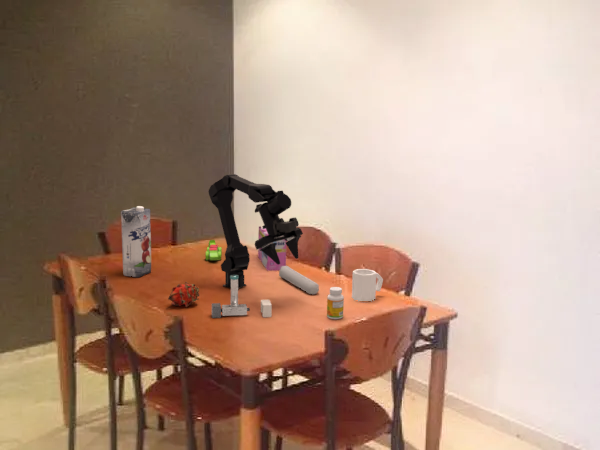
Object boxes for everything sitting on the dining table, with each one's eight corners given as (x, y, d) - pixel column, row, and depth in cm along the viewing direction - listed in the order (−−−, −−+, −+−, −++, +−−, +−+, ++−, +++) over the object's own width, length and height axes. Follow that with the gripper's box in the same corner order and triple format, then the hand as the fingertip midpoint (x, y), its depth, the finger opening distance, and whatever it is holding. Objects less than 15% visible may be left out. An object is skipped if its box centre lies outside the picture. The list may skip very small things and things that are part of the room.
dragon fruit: (202, 306, 258) (171, 317, 251) (190, 288, 262) (160, 299, 255) (207, 292, 252) (175, 303, 245) (195, 273, 256) (164, 283, 249)
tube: (323, 284, 269) (292, 267, 291) (311, 281, 266) (281, 264, 288) (319, 298, 269) (288, 279, 291) (306, 295, 267) (277, 277, 288)
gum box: (256, 256, 322) (257, 225, 319) (274, 255, 324) (275, 225, 321) (267, 271, 299) (267, 238, 297) (286, 270, 301) (287, 237, 298)
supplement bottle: (325, 314, 248) (326, 286, 246) (341, 314, 248) (342, 286, 246) (327, 319, 243) (328, 291, 241) (344, 319, 243) (345, 290, 241)
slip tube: (222, 315, 243) (222, 277, 240) (221, 313, 245) (221, 275, 243) (246, 314, 244) (247, 276, 241) (246, 312, 247) (246, 274, 244)
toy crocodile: (220, 264, 309) (220, 249, 307) (204, 264, 308) (204, 249, 307) (222, 252, 328) (222, 239, 326) (206, 252, 327) (206, 239, 326)
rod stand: (212, 318, 242) (212, 306, 241) (211, 314, 245) (211, 303, 244) (250, 316, 244) (250, 305, 243) (248, 313, 247) (248, 302, 246)
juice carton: (119, 276, 287) (117, 207, 282) (135, 269, 297) (133, 203, 291) (139, 279, 284) (137, 209, 278) (154, 272, 294) (153, 204, 288)
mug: (361, 303, 260) (362, 276, 258) (346, 296, 267) (347, 270, 265) (388, 298, 266) (389, 272, 264) (373, 292, 273) (374, 266, 271)
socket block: (263, 317, 243) (263, 305, 243) (260, 311, 249) (260, 299, 248) (271, 317, 244) (271, 305, 243) (269, 311, 250) (269, 299, 249)
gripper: (266, 215, 244) (284, 259, 242) (304, 206, 257) (321, 247, 255) (246, 227, 251) (263, 270, 249) (283, 218, 265) (300, 258, 263)
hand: (288, 261), depth 254 cm, fingers open, 9 cm apart
